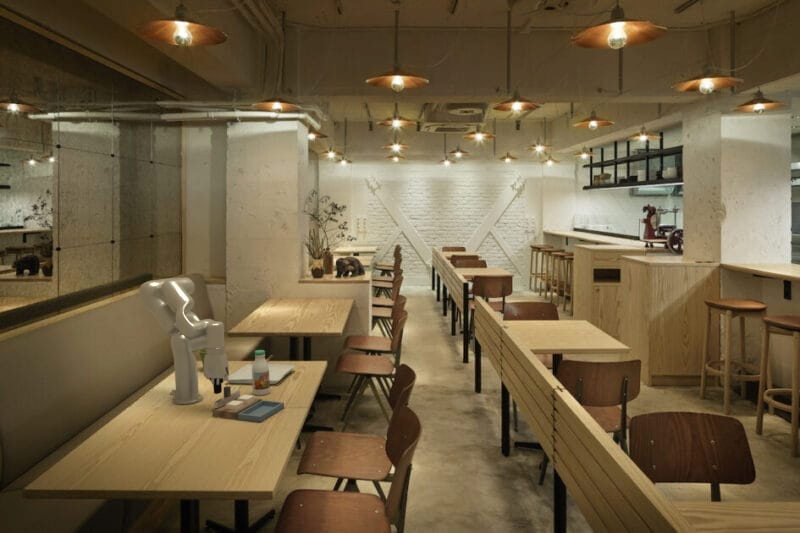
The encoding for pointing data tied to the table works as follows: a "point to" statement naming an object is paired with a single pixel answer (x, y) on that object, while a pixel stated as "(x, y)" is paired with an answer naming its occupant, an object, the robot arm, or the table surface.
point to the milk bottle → (260, 374)
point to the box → (261, 411)
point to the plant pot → (202, 355)
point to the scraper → (226, 397)
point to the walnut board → (232, 414)
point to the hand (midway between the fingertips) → (217, 392)
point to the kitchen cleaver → (269, 358)
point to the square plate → (246, 373)
